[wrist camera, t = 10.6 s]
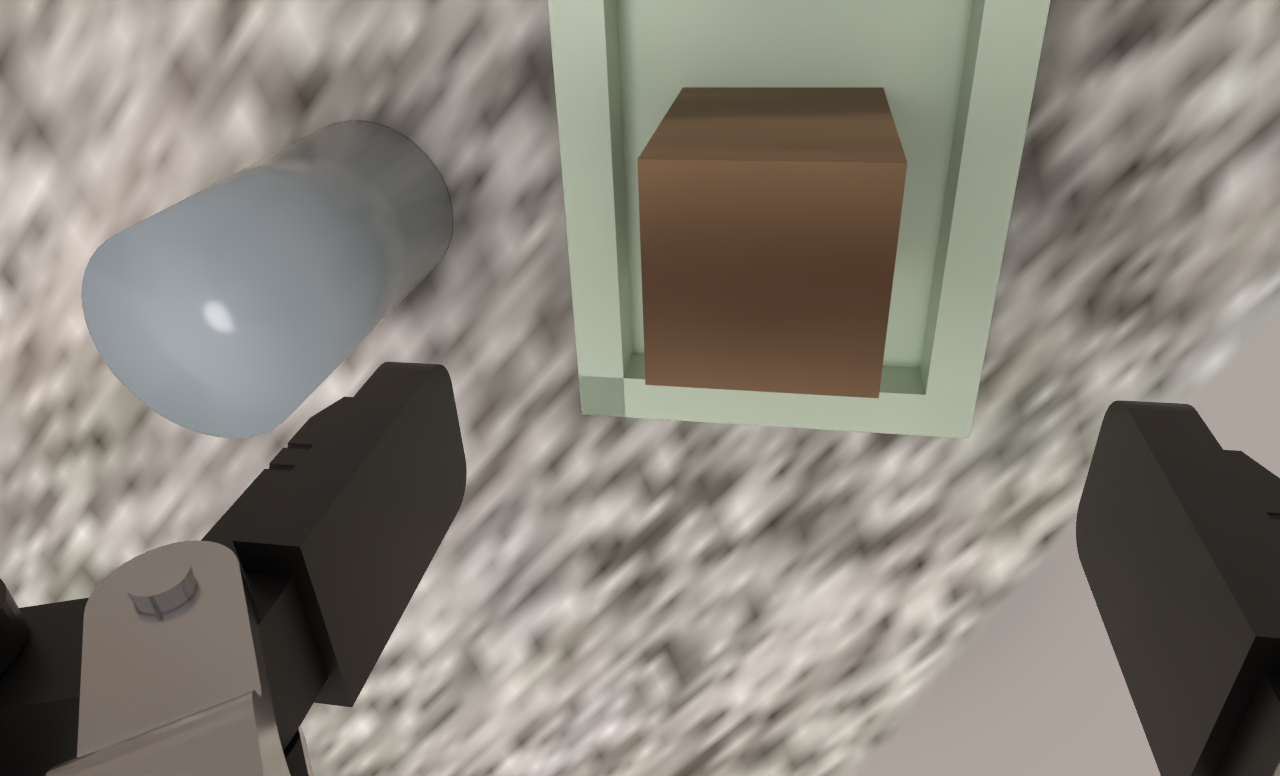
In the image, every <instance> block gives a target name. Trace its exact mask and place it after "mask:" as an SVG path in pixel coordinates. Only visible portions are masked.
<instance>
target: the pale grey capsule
mask: <svg viewBox="0 0 1280 776" xmlns="http://www.w3.org/2000/svg"><path fill="white" fill-rule="evenodd" d="M452 230H453V212H452V205H451V200H450V196H449V193H448V190H447V188H446V185H445V183H444V181H443V179H442V177H441V175H440V173H439V172H438V170H437V168H436V167H435V165H434V164H433V163H432V162H431V160H430V159H429V158H428V156H427V155H426V154H425V153H424V152H423V151H422V150H421V149H420V148H419V147H418V146H416V145H415V144H414V143H413V142H412V141H410V140H409V139H408V138H406V137H405V136H403V135H401V134H400V133H398V132H396V131H394V130H392V129H390V128H388V127H385V126H382V125H379V124H376V123H371V122H367V121H344V122H339V123H335V124H332V125H330V126H327V127H325V128H323V129H321V130H319V131H317V132H315V133H313V134H311V135H309V136H307V137H305V138H303V139H302V140H300V141H298V142H296V143H294V144H292V145H290V146H288V147H286V148H284V149H282V150H280V151H278V152H276V153H274V154H272V155H270V156H268V157H266V158H264V159H262V160H260V161H258V162H257V163H255V164H253V165H251V166H249V167H247V168H245V169H243V170H241V171H239V172H237V173H235V174H233V175H231V176H229V177H227V178H225V179H223V180H221V181H219V182H217V183H215V184H213V185H212V186H210V187H208V188H206V189H204V190H202V191H200V192H198V193H196V194H194V195H192V196H190V197H188V198H186V199H184V200H182V201H180V202H178V203H176V204H174V205H172V206H170V207H168V208H167V209H165V210H163V211H161V212H159V213H157V214H155V215H153V216H151V217H149V218H147V219H145V220H143V221H141V222H139V223H137V224H135V225H133V226H131V227H129V228H127V229H125V230H123V231H122V232H120V233H118V234H116V235H114V236H113V237H111V238H109V239H108V240H106V241H105V242H104V243H103V244H102V245H101V246H100V247H99V248H98V249H97V250H96V251H95V253H94V254H93V256H92V257H91V258H90V261H89V263H88V265H87V267H86V270H85V274H84V278H83V283H82V306H83V311H84V316H85V321H86V324H87V327H88V330H89V333H90V335H91V337H92V340H93V342H94V344H95V346H96V348H97V350H98V351H99V353H100V355H101V357H102V358H103V360H104V361H105V363H106V364H107V366H108V367H109V368H110V370H111V371H112V372H113V374H114V375H115V376H116V377H117V378H118V379H119V381H120V382H121V383H122V384H123V385H124V386H125V387H126V388H127V389H128V390H129V391H130V392H131V393H132V394H133V395H134V396H135V397H137V398H138V399H139V400H140V401H141V402H143V403H144V404H145V405H146V406H148V407H149V408H151V409H152V410H154V411H155V412H156V413H158V414H159V415H161V416H163V417H165V418H166V419H168V420H170V421H172V422H174V423H176V424H178V425H180V426H182V427H185V428H187V429H190V430H193V431H196V432H199V433H202V434H206V435H211V436H216V437H224V438H243V437H252V436H255V435H259V434H263V433H265V432H267V431H270V430H272V429H274V428H275V427H277V426H278V425H280V424H281V423H283V422H284V421H285V420H286V419H287V418H288V417H289V416H290V415H291V414H292V413H293V412H294V411H295V410H296V409H297V408H298V407H299V406H300V405H301V404H302V403H303V402H304V401H305V400H306V398H307V397H308V396H309V395H310V394H311V393H312V392H313V391H314V390H315V389H316V388H317V387H318V386H319V385H320V384H321V383H322V382H323V381H324V380H325V379H326V378H327V377H328V376H329V375H330V374H331V373H332V372H333V371H334V370H335V369H336V368H337V367H338V366H339V365H340V364H341V363H342V362H343V361H344V360H345V359H346V358H347V356H348V355H349V354H350V353H351V352H352V351H353V350H354V349H355V348H356V347H357V346H358V345H359V344H360V343H361V342H362V341H363V340H364V339H365V338H366V337H367V336H368V335H369V334H370V333H371V332H372V331H373V330H374V329H375V328H376V327H377V326H378V325H379V324H380V323H381V322H382V321H383V320H384V319H385V318H386V317H387V316H388V315H389V313H390V312H391V311H392V310H393V309H394V308H395V307H396V306H397V305H398V304H399V303H400V302H401V301H402V300H403V299H404V298H405V297H406V296H407V295H408V294H409V293H410V292H411V291H412V290H413V289H414V288H415V287H416V286H417V285H418V284H419V283H420V282H421V281H422V280H423V279H424V278H425V277H426V276H427V275H428V274H429V273H430V271H431V270H432V269H433V268H434V267H435V266H436V265H437V264H438V263H439V262H440V260H441V259H442V258H443V256H444V254H445V252H446V250H447V249H448V246H449V243H450V240H451V235H452Z"/></svg>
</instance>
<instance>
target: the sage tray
mask: <svg viewBox="0 0 1280 776" xmlns="http://www.w3.org/2000/svg"><path fill="white" fill-rule="evenodd" d="M1050 1H1051V0H548V9H549V21H550V33H551V46H552V58H553V70H554V82H555V94H556V106H557V118H558V130H559V143H560V155H561V167H562V179H563V191H564V203H565V215H566V227H567V240H568V252H569V264H570V276H571V288H572V300H573V312H574V324H575V337H576V349H577V361H578V373H579V385H580V397H581V409H582V414H584V415H600V416H616V417H632V418H648V419H664V420H680V421H696V422H712V423H728V424H744V425H760V426H776V427H792V428H808V429H824V430H839V431H855V432H871V433H887V434H903V435H919V436H935V437H951V438H967V439H969V437H970V431H971V426H972V421H973V415H974V410H975V404H976V399H977V394H978V388H979V383H980V377H981V372H982V367H983V361H984V356H985V351H986V345H987V340H988V334H989V329H990V324H991V318H992V313H993V307H994V302H995V297H996V291H997V286H998V281H999V275H1000V270H1001V264H1002V259H1003V254H1004V248H1005V243H1006V237H1007V232H1008V227H1009V221H1010V216H1011V211H1012V205H1013V200H1014V194H1015V189H1016V184H1017V178H1018V173H1019V167H1020V162H1021V157H1022V151H1023V146H1024V141H1025V135H1026V130H1027V124H1028V119H1029V114H1030V108H1031V103H1032V97H1033V92H1034V87H1035V81H1036V76H1037V71H1038V65H1039V60H1040V54H1041V49H1042V44H1043V38H1044V33H1045V28H1046V22H1047V17H1048V11H1049V6H1050ZM683 87H883V88H884V91H885V94H886V98H887V101H888V104H889V107H890V110H891V113H892V116H893V120H894V123H895V126H896V129H897V132H898V135H899V138H900V141H901V145H902V148H903V151H904V154H905V157H906V160H907V171H906V179H905V187H904V195H903V204H902V212H901V220H900V228H899V236H898V245H897V253H896V261H895V269H894V277H893V286H892V294H891V302H890V310H889V318H888V326H887V335H886V343H885V351H884V359H883V367H882V376H881V384H880V392H879V398H862V397H845V396H828V395H811V394H793V393H776V392H759V391H742V390H724V389H707V388H690V387H673V386H655V385H645V359H644V331H643V303H642V275H641V247H640V219H639V191H638V163H637V159H638V158H639V156H640V154H641V153H642V151H643V150H644V148H645V146H646V145H647V143H648V142H649V140H650V138H651V137H652V135H653V134H654V132H655V131H656V129H657V127H658V126H659V124H660V123H661V121H662V119H663V118H664V116H665V115H666V113H667V112H668V110H669V108H670V107H671V105H672V104H673V102H674V100H675V99H676V97H677V96H678V94H679V93H680V91H681V89H682V88H683Z"/></svg>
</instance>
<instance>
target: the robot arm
mask: <svg viewBox="0 0 1280 776" xmlns="http://www.w3.org/2000/svg"><path fill="white" fill-rule="evenodd" d="M465 486H466V460H465V454H464V449H463V443H462V438H461V432H460V427H459V421H458V416H457V410H456V405H455V399H454V394H453V388H452V383H451V379H450V376H449V373H448V371H447V369H446V368H445V367H444V366H443V365H439V364H420V363H400V362H385V363H383V364H382V365H380V366H379V367H378V369H377V370H376V371H375V372H374V373H373V375H372V376H371V377H370V378H369V379H368V380H367V382H366V383H365V384H364V385H363V386H362V388H361V389H360V390H359V391H358V392H357V393H356V395H355V396H354V397H343V398H342V399H340V400H338V401H337V402H335V403H334V404H332V405H330V406H329V407H327V408H325V409H324V410H322V411H320V412H319V413H317V414H316V415H314V416H312V417H311V418H310V419H309V420H308V421H307V422H306V423H305V424H304V425H303V426H302V428H301V429H300V430H299V431H298V432H297V433H296V434H295V435H294V437H293V438H292V439H291V440H290V441H289V442H288V448H283V449H282V450H281V451H280V452H279V453H278V455H277V456H276V457H275V458H274V459H273V460H272V461H271V462H270V467H269V469H264V470H263V471H262V472H261V474H260V475H259V476H258V477H257V478H256V479H255V480H254V481H253V483H252V484H251V485H250V486H249V487H248V488H247V489H246V490H245V492H244V493H243V494H242V495H241V496H240V497H239V498H238V499H237V501H236V502H235V503H234V504H233V505H232V506H231V507H230V508H229V510H228V511H227V512H226V513H225V514H224V515H223V516H222V517H221V519H220V520H219V521H218V522H217V523H216V524H215V525H214V526H213V527H212V529H211V530H210V531H209V532H208V533H207V534H206V535H205V536H204V538H203V539H202V540H201V541H184V542H178V543H173V544H169V545H165V546H162V547H159V548H156V549H153V550H150V551H148V552H146V553H143V554H141V555H139V556H137V557H135V558H133V559H131V560H130V561H128V562H126V563H124V564H123V565H121V566H120V567H119V568H117V569H116V570H114V571H113V572H112V573H111V574H109V575H108V576H107V577H106V578H105V579H104V580H103V581H102V582H101V583H100V584H99V585H98V586H97V587H96V588H95V590H94V591H93V593H92V594H91V596H90V597H89V598H84V599H77V600H71V601H64V602H57V603H51V604H44V605H37V606H31V607H24V608H18V606H17V605H16V603H15V601H14V599H13V598H12V596H11V594H10V593H9V591H8V589H7V587H6V586H5V584H4V583H3V581H2V580H1V579H0V776H314V775H313V771H312V766H311V762H310V757H309V752H308V748H307V743H306V739H305V737H304V734H303V731H302V728H301V726H300V725H301V723H302V721H303V720H304V718H305V716H306V715H307V713H308V711H309V709H310V708H311V706H312V704H313V703H322V704H330V705H338V706H347V707H353V705H354V703H355V701H356V699H357V697H358V695H359V694H360V692H361V690H362V688H363V686H364V684H365V683H366V681H367V679H368V677H369V675H370V673H371V671H372V670H373V668H374V666H375V664H376V662H377V660H378V658H379V657H380V655H381V653H382V651H383V649H384V647H385V645H386V644H387V642H388V640H389V638H390V636H391V634H392V633H393V631H394V629H395V627H396V625H397V623H398V621H399V620H400V618H401V616H402V614H403V612H404V610H405V608H406V607H407V605H408V603H409V601H410V599H411V597H412V596H413V594H414V592H415V590H416V588H417V586H418V584H419V583H420V581H421V579H422V577H423V575H424V573H425V571H426V570H427V568H428V566H429V564H430V562H431V560H432V558H433V557H434V555H435V553H436V551H437V549H438V547H439V546H440V544H441V542H442V540H443V538H444V536H445V534H446V533H447V531H448V529H449V527H450V525H451V523H452V521H453V520H454V518H455V516H456V514H457V512H458V510H459V508H460V506H461V503H462V500H463V496H464V492H465ZM1076 540H1077V548H1078V554H1079V558H1080V561H1081V564H1082V566H1083V569H1084V572H1085V575H1086V577H1087V580H1088V582H1089V585H1090V588H1091V591H1092V593H1093V596H1094V599H1095V601H1096V604H1097V607H1098V609H1099V612H1100V615H1101V617H1102V620H1103V622H1104V625H1105V628H1106V631H1107V633H1108V636H1109V638H1110V641H1111V644H1112V646H1113V649H1114V652H1115V654H1116V657H1117V659H1118V662H1119V665H1120V668H1121V670H1122V673H1123V676H1124V678H1125V681H1126V684H1127V686H1128V689H1129V692H1130V694H1131V697H1132V700H1133V702H1134V705H1135V708H1136V710H1137V713H1138V716H1139V718H1140V721H1141V724H1142V726H1143V729H1144V732H1145V734H1146V737H1147V739H1148V742H1149V745H1150V747H1151V750H1152V753H1153V755H1154V758H1155V761H1156V763H1157V766H1158V769H1159V771H1160V774H1161V776H1280V478H1278V477H1277V476H1275V475H1274V474H1272V473H1271V472H1270V471H1268V470H1267V469H1266V468H1264V467H1263V466H1261V465H1260V464H1259V463H1257V462H1256V461H1254V460H1253V459H1252V458H1250V457H1249V456H1247V455H1246V454H1244V453H1243V452H1242V451H1231V450H1223V449H1222V447H1221V446H1220V444H1219V443H1218V442H1217V440H1216V439H1215V437H1214V436H1213V434H1212V433H1211V431H1210V430H1209V428H1208V427H1207V425H1206V424H1205V423H1204V421H1203V420H1202V418H1201V417H1200V415H1199V414H1198V412H1197V411H1196V410H1195V409H1194V407H1192V406H1191V405H1188V404H1176V403H1156V402H1136V401H1115V402H1113V403H1112V404H1111V405H1110V406H1109V408H1108V409H1107V411H1106V413H1105V416H1104V419H1103V422H1102V426H1101V429H1100V433H1099V436H1098V440H1097V443H1096V447H1095V450H1094V454H1093V457H1092V461H1091V465H1090V468H1089V472H1088V475H1087V479H1086V482H1085V486H1084V489H1083V493H1082V496H1081V500H1080V503H1079V508H1078V513H1077V521H1076Z"/></svg>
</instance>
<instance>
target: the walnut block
mask: <svg viewBox="0 0 1280 776" xmlns="http://www.w3.org/2000/svg"><path fill="white" fill-rule="evenodd" d="M637 163H638V191H639V219H640V247H641V275H642V303H643V331H644V359H645V385H655V386H673V387H690V388H707V389H724V390H742V391H759V392H776V393H793V394H811V395H828V396H845V397H862V398H879V392H880V384H881V376H882V367H883V359H884V351H885V343H886V335H887V326H888V318H889V310H890V302H891V294H892V286H893V277H894V269H895V261H896V253H897V245H898V236H899V228H900V220H901V212H902V204H903V195H904V187H905V179H906V171H907V160H906V157H905V154H904V151H903V148H902V145H901V141H900V138H899V135H898V132H897V129H896V126H895V123H894V120H893V116H892V113H891V110H890V107H889V104H888V101H887V98H886V94H885V91H884V88H883V87H683V88H682V89H681V91H680V93H679V94H678V96H677V97H676V99H675V100H674V102H673V104H672V105H671V107H670V108H669V110H668V112H667V113H666V115H665V116H664V118H663V119H662V121H661V123H660V124H659V126H658V127H657V129H656V131H655V132H654V134H653V135H652V137H651V138H650V140H649V142H648V143H647V145H646V146H645V148H644V150H643V151H642V153H641V154H640V156H639V158H638V159H637Z"/></svg>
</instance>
